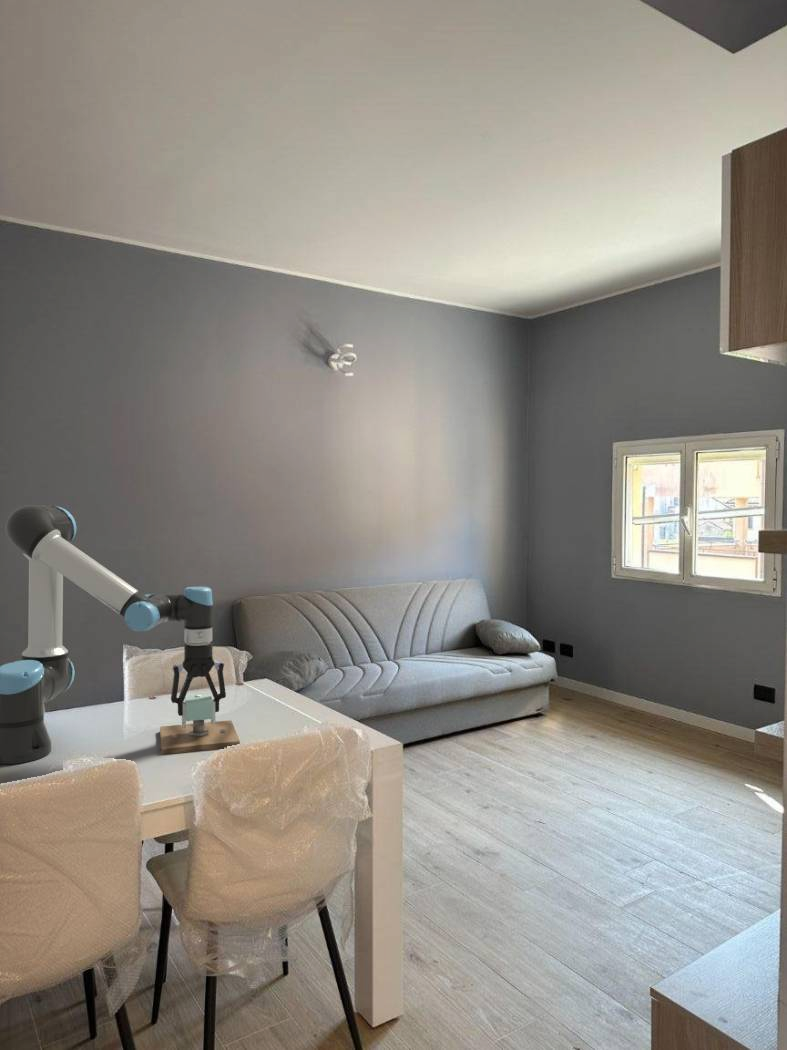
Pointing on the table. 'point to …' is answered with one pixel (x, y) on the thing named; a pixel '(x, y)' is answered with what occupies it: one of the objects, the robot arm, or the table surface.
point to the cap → (199, 707)
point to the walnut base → (197, 736)
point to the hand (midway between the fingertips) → (198, 725)
